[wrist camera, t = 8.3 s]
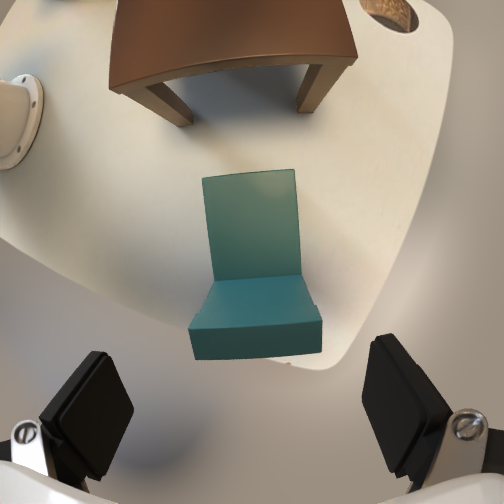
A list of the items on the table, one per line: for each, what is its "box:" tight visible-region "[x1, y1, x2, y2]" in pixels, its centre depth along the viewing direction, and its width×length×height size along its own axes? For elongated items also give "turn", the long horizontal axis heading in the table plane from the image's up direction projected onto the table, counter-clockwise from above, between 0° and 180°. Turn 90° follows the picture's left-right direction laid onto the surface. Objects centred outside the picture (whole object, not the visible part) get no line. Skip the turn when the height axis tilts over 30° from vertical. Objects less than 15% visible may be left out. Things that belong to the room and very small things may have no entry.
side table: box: [109, 0, 358, 127], centre depth 14 cm, size 12×10×12 cm
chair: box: [188, 169, 322, 360], centre depth 17 cm, size 8×6×13 cm
